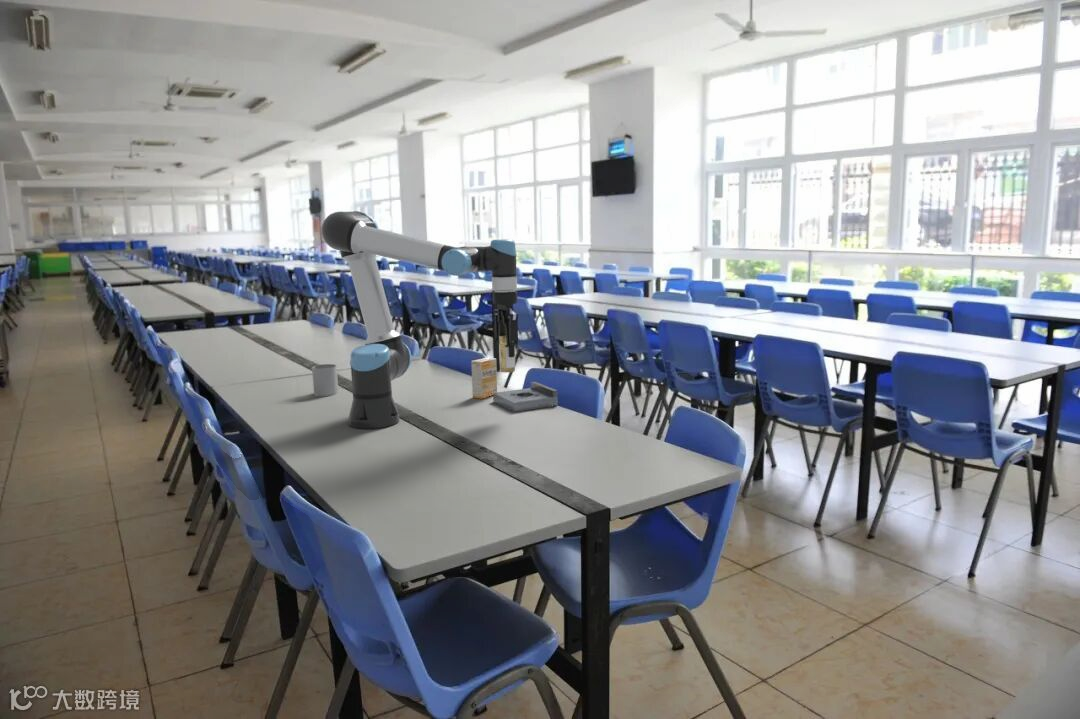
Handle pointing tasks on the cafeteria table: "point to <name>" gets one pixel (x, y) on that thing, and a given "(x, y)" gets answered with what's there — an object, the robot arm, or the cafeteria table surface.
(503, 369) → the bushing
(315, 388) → the cup
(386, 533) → the cafeteria table surface
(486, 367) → the supplement box
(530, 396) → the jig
